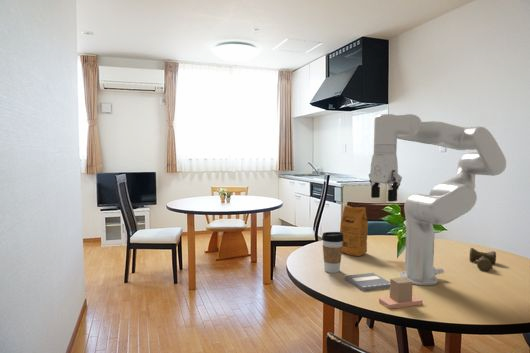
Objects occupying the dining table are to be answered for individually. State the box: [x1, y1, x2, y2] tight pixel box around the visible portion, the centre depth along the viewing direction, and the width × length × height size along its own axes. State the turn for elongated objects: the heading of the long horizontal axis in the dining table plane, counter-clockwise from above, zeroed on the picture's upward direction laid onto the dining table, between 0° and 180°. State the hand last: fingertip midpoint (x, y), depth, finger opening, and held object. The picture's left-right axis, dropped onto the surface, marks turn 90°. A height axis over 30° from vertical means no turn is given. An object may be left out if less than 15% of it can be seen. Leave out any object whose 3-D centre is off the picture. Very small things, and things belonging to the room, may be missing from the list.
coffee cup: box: [321, 231, 344, 274], centre depth 139 cm, size 8×8×15 cm
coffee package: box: [339, 204, 369, 257], centre depth 164 cm, size 10×12×22 cm
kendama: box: [469, 247, 497, 272], centre depth 149 cm, size 6×10×20 cm
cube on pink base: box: [378, 277, 424, 309], centre depth 109 cm, size 12×5×7 cm, turn 107°
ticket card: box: [344, 272, 390, 292], centre depth 126 cm, size 12×12×1 cm
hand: (383, 199), depth 124 cm, fingers open, 9 cm apart
